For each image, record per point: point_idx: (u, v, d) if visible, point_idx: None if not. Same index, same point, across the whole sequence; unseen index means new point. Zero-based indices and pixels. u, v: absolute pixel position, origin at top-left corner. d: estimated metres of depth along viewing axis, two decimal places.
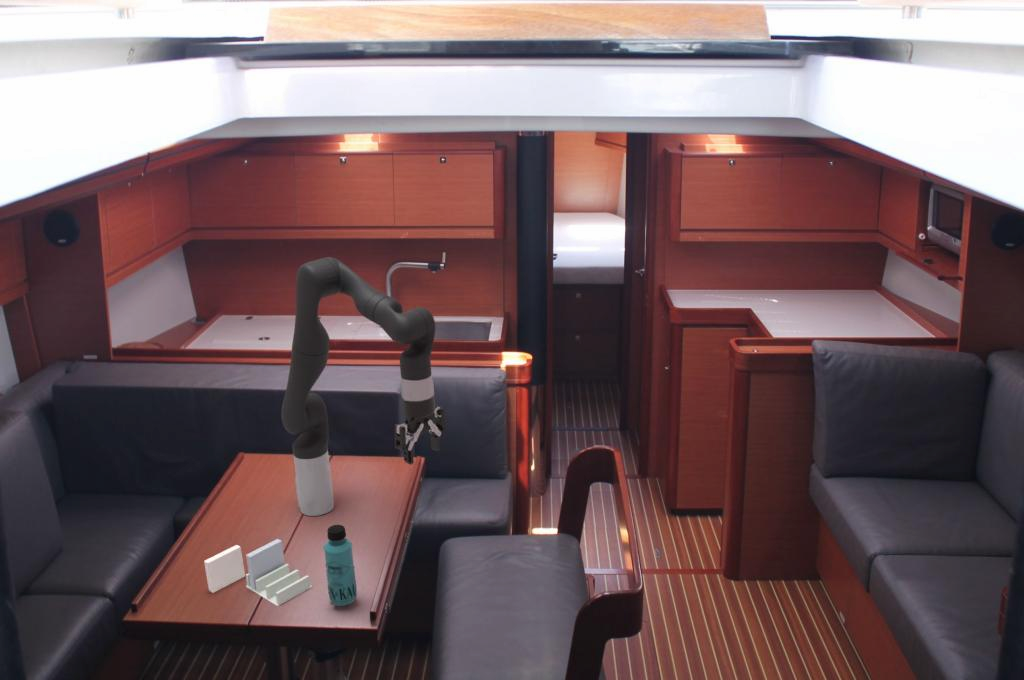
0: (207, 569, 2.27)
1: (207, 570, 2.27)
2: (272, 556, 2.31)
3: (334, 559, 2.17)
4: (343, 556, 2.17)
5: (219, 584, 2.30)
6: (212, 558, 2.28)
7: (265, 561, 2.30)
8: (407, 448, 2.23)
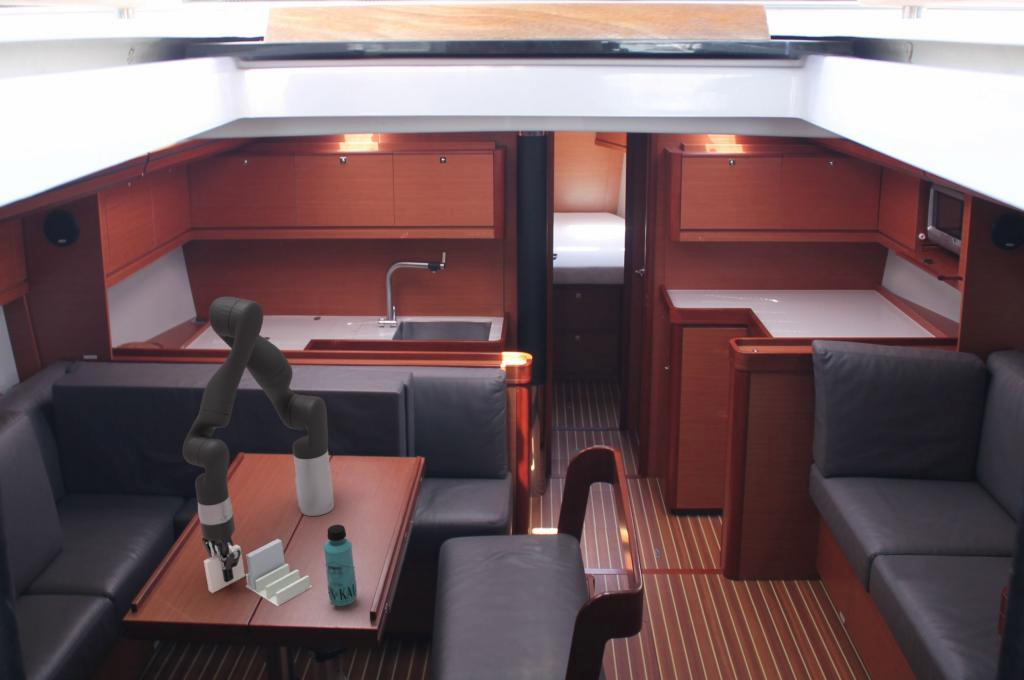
0: (206, 569, 2.27)
1: (207, 570, 2.27)
2: (272, 556, 2.31)
3: (334, 559, 2.17)
4: (343, 556, 2.17)
5: (219, 584, 2.30)
6: (212, 558, 2.28)
7: (265, 561, 2.30)
8: None
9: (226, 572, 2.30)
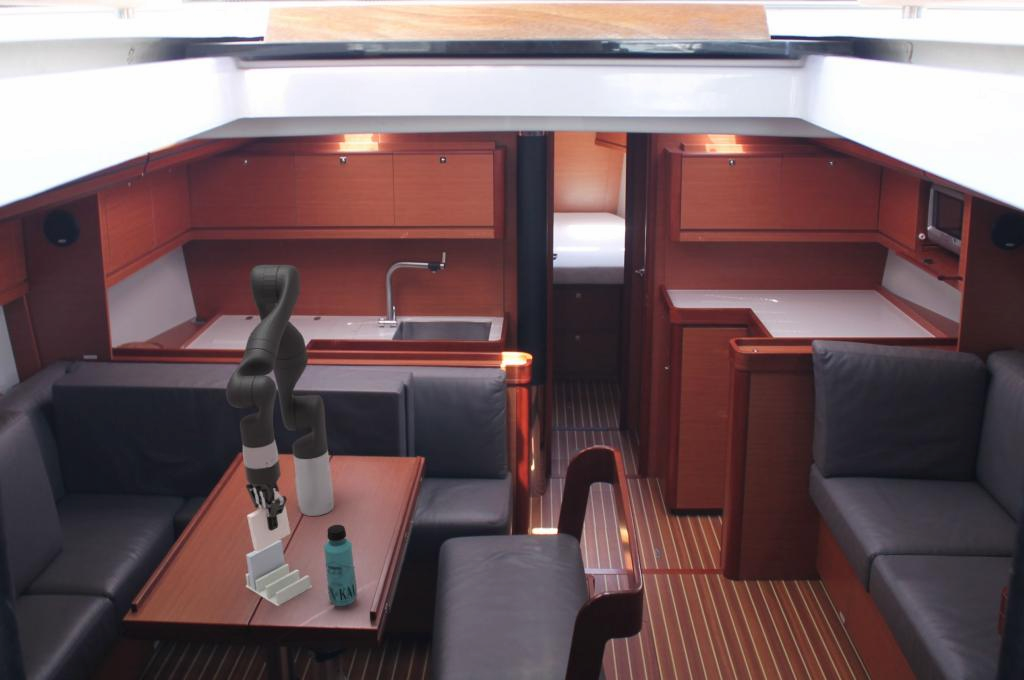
0: (250, 524, 2.18)
1: (250, 525, 2.18)
2: (272, 556, 2.31)
3: (334, 559, 2.17)
4: (343, 556, 2.17)
5: (263, 539, 2.21)
6: (256, 512, 2.19)
7: (265, 561, 2.30)
8: None
9: (271, 520, 2.20)
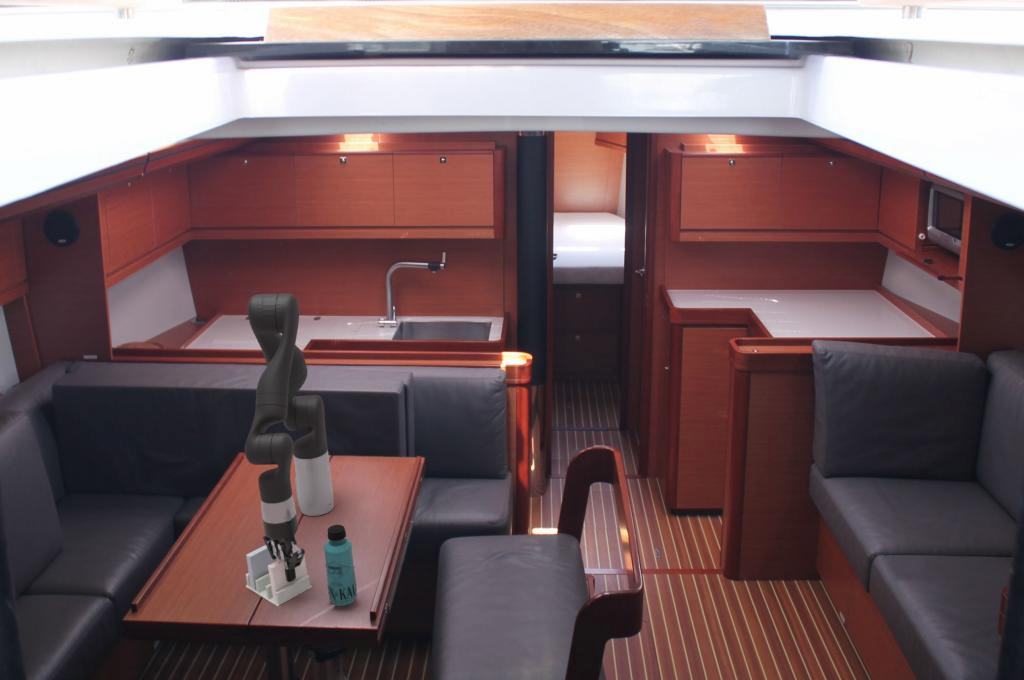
0: (271, 574, 2.23)
1: (271, 575, 2.23)
2: None
3: (334, 559, 2.17)
4: (343, 556, 2.17)
5: None
6: (276, 563, 2.23)
7: (265, 561, 2.30)
8: None
9: (289, 572, 2.24)
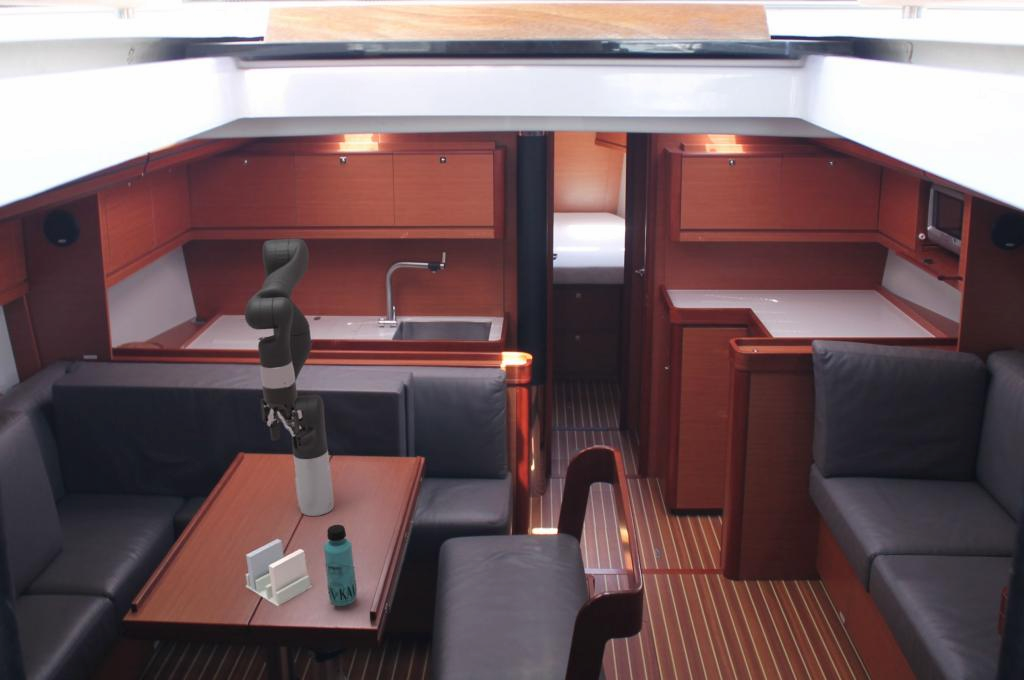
0: (271, 574, 2.23)
1: (272, 575, 2.23)
2: (272, 556, 2.31)
3: (334, 559, 2.17)
4: (343, 556, 2.17)
5: None
6: (277, 563, 2.23)
7: (265, 561, 2.30)
8: None
9: (295, 439, 2.25)
